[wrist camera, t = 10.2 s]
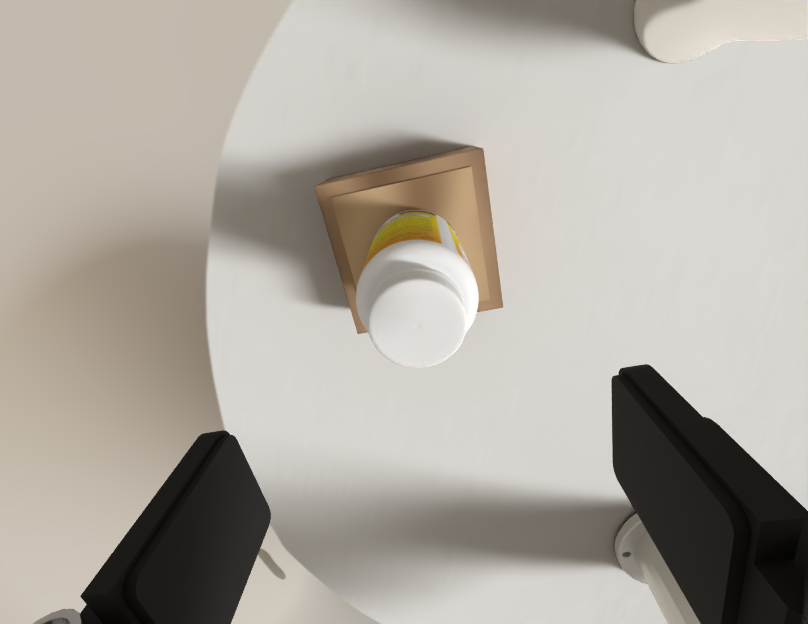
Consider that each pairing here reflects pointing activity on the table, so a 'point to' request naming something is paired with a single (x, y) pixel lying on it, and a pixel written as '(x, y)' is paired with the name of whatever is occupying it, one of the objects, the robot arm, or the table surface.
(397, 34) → the table surface
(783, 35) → the beer glass
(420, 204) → the base
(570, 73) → the table surface
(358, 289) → the supplement bottle
